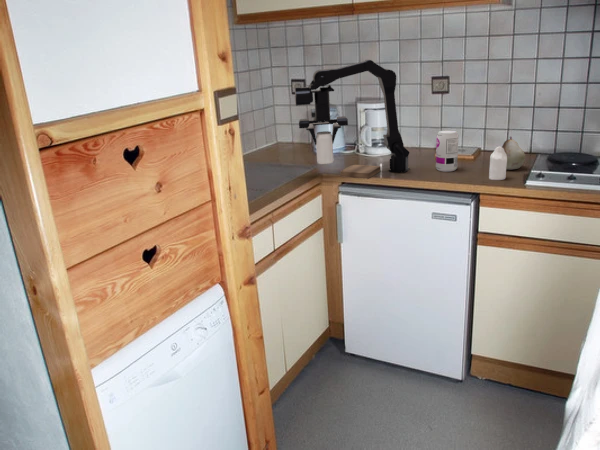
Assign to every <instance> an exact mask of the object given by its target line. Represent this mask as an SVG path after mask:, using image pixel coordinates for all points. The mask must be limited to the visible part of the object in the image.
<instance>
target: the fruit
mask: <svg viewBox="0 0 600 450" xmlns="http://www.w3.org/2000/svg"><path fill="white" fill-rule="evenodd" d="M501 147H503V149H504V151H505V153H506V155H507V166H506V171H508V170H518V169H520V168H521V167H522V166H523V164H524V163H525V161H526V154H525V152H524V150H523V148H522V147H521V146H519V144H518V142H517V141H516V140H514V139H513V138H512V136H509V139H506V140H505V141H504V142H503V144H502V146H501Z"/></svg>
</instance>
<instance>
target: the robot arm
mask: <svg viewBox="0 0 600 450" xmlns="http://www.w3.org/2000/svg"><path fill="white" fill-rule="evenodd" d="M365 72H369V73H370V74H371V75H372V76H375V77H376V78H377V80H378V83H379V87H380V89H381V90H380V91H382V94H383V102H384V111H385V119H386V128H387V130H386V133H385V134H383V140H384V142H383V145H384V146H385V148H386V149H388V151H390V154H391V155H390V158H389V171H388V172H390V173H391V172H392V173H407V172H408V171H409V170H410V167H409V155H410V151H409V150H408V149H407V148H406V147H405V145H404V142H403V138H402V135H401V133H400V130H399V122H398V112H397V105H396V96H395V91H396V87H397V74H396V72H395V71H393V70H392V69H388V68H384V67H383V66H381V65H379V64H377V63H376V62H374V61H373V60H372V59H365V60H363V61H360V62H355V63H352V64H347V65H344V66H340V67H337V68H323V69H318V70H316V71H314V73H313V75H312V80H311V82H310V83H309V85H308V86H304V87H294V102H295V103H294V104H295V106H296V107H297V106H298V107H300V106H310V105H311V104H312V103H313V102H314V108H313V109H312V108H311V109H310V114H311V119H314V120H310V119H309V118H300V119H299V120H298V127H299V129H305V131H308V132H309V133H310V135H311V137H312V139H313V142H314V145H315V146H316V133H315V128H314V127H315V126H322V125H323V126H325V125H332V130H331V135H332V142H333V144H334V142H335V138H336V136H337V133H338V131H339V129H341V128H342V127H343V126H348V125H349V121H348V117H347V116H345V115H343V116H336V118H333V119H332V118H331V106H330V105H331V103H330V92H334V91H335V89H334V88H333V87H332V86H331V85H330V84H331V83H334V82H335V81H336V80H339V79H342V78H347V77H350V76H353V75H358V74H361V73H365ZM318 88H319V89H318Z"/></svg>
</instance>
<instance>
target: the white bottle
mask: <svg viewBox="0 0 600 450" xmlns="http://www.w3.org/2000/svg"><path fill="white" fill-rule="evenodd" d="M489 156H490V158H489V171H488V172H489V173H488V179H489V180H492V181H501V180H505V179H506V176H507V175H506V174H507V169H506V166H507V155H506V153H505V151H504V149H503V147H502V146H500V145H499V146H497V147H495V148H494V151H493V152H492V153H491V154H490V155H489Z"/></svg>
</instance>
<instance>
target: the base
mask: <svg viewBox="0 0 600 450" xmlns="http://www.w3.org/2000/svg"><path fill="white" fill-rule="evenodd" d="M380 172H381V166H379V165H378V166H377V165H367V164H364V165H363V164H352V165H351V164H350V166H348V167H346V168H344V169H342V170H340V177H345V178H346V177H347V178H348V177H349V178H358V179H359V178H360V179H371V178H372V177H374V176H375V175H377V174H379V173H380Z"/></svg>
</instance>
